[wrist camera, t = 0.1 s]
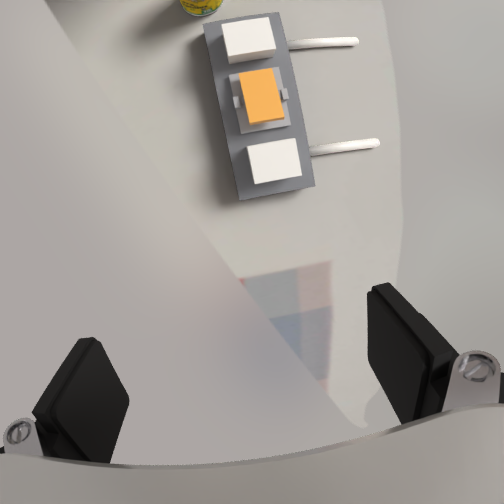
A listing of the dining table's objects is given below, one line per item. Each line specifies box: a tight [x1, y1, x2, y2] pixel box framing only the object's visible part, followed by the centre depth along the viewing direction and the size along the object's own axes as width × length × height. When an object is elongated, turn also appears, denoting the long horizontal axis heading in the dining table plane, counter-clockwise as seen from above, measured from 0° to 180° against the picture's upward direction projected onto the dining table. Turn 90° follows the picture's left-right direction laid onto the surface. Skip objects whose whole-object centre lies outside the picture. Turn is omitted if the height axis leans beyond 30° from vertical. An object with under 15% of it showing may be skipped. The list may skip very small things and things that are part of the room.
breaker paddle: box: [239, 68, 285, 125], centre depth 31 cm, size 6×4×1 cm, turn 11°
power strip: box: [203, 12, 380, 201], centre depth 32 cm, size 22×19×6 cm
